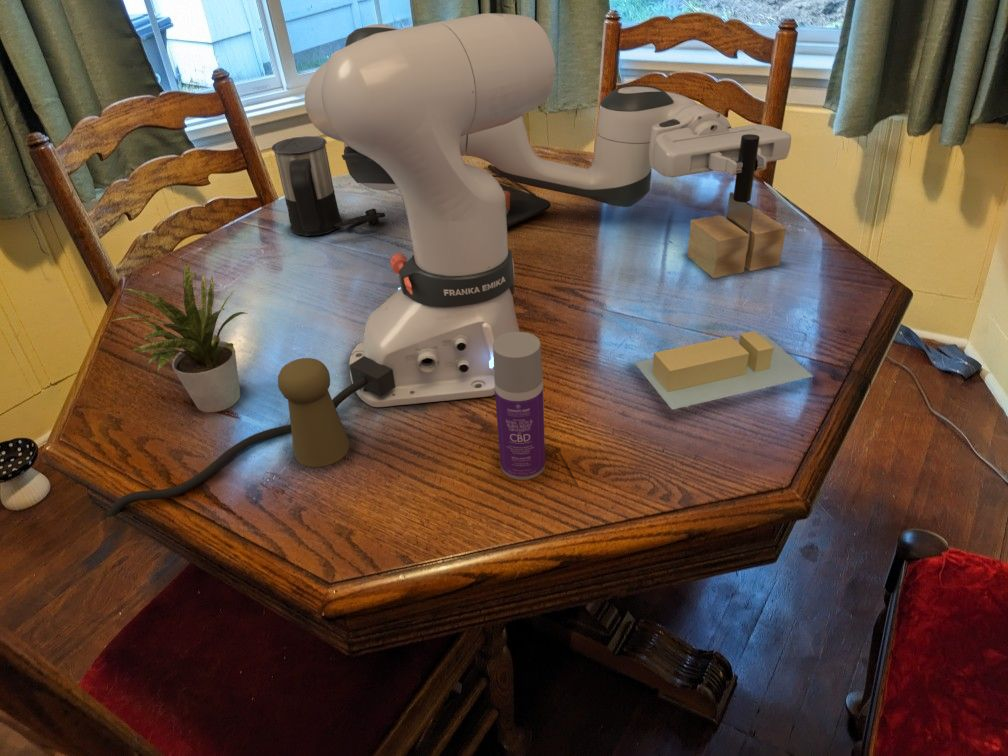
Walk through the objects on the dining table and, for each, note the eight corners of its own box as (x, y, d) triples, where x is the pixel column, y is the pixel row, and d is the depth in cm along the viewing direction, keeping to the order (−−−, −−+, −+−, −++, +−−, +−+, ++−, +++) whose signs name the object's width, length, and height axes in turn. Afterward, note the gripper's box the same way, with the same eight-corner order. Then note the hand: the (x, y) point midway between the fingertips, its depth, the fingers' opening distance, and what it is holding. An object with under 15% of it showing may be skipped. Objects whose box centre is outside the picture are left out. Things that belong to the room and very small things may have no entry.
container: (511, 486, 74) (503, 363, 65) (493, 458, 77) (483, 338, 69) (553, 471, 75) (550, 349, 66) (533, 445, 79) (528, 326, 70)
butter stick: (667, 392, 83) (669, 370, 82) (652, 373, 86) (653, 352, 85) (745, 374, 85) (749, 353, 84) (727, 356, 88) (730, 335, 87)
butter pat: (754, 372, 86) (758, 351, 84) (736, 354, 89) (739, 333, 87) (769, 369, 86) (774, 347, 84) (751, 351, 89) (754, 330, 87)
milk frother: (285, 223, 132) (265, 141, 124) (367, 204, 138) (354, 124, 129) (304, 252, 122) (284, 165, 113) (393, 230, 127) (380, 145, 119)
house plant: (154, 378, 93) (107, 262, 84) (264, 352, 97) (231, 238, 87) (152, 445, 82) (98, 320, 73) (277, 412, 86) (240, 290, 76)
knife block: (713, 278, 107) (718, 240, 103) (687, 256, 113) (690, 219, 110) (779, 265, 109) (786, 228, 106) (750, 244, 115) (755, 208, 112)
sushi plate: (396, 197, 140) (394, 178, 138) (511, 156, 156) (510, 138, 153) (497, 239, 122) (496, 218, 120) (615, 188, 137) (616, 168, 135)
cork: (337, 470, 77) (316, 385, 71) (284, 464, 78) (259, 381, 72) (357, 433, 82) (339, 351, 75) (307, 428, 83) (286, 347, 77)
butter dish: (671, 416, 81) (672, 409, 81) (633, 368, 89) (633, 362, 89) (812, 383, 85) (813, 376, 84) (763, 340, 93) (764, 333, 92)
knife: (739, 253, 107) (754, 144, 97) (718, 237, 111) (731, 131, 102) (753, 250, 107) (770, 141, 98) (732, 234, 112) (746, 129, 103)
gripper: (757, 149, 117) (810, 177, 106) (639, 168, 112) (682, 199, 101) (763, 109, 113) (819, 134, 102) (642, 127, 109) (686, 155, 98)
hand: (749, 167), depth 102 cm, fingers closed on knife, 2 cm apart
